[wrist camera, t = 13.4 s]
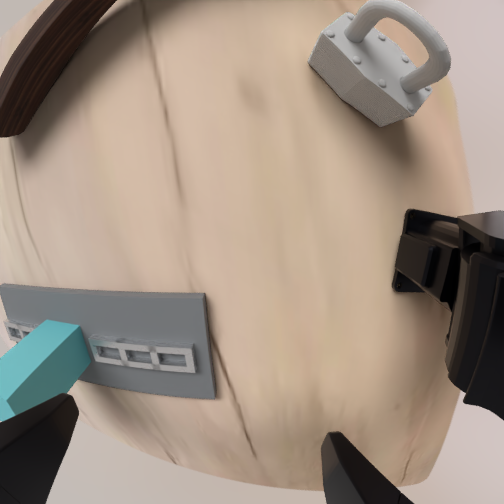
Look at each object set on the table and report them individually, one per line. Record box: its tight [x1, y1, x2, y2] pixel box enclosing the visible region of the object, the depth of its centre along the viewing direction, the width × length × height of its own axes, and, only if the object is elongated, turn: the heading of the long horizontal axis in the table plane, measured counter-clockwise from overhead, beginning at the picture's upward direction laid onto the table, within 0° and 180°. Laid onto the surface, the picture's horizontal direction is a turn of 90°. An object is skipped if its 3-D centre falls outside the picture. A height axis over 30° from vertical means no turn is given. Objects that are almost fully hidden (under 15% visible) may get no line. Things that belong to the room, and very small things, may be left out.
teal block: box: [0, 320, 91, 421], centre depth 15 cm, size 4×4×11 cm
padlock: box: [308, 0, 451, 127], centre depth 11 cm, size 7×4×10 cm, turn 49°
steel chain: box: [4, 318, 197, 373], centre depth 20 cm, size 23×2×1 cm, turn 91°
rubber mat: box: [0, 284, 216, 399], centre depth 21 cm, size 24×10×1 cm, turn 91°
